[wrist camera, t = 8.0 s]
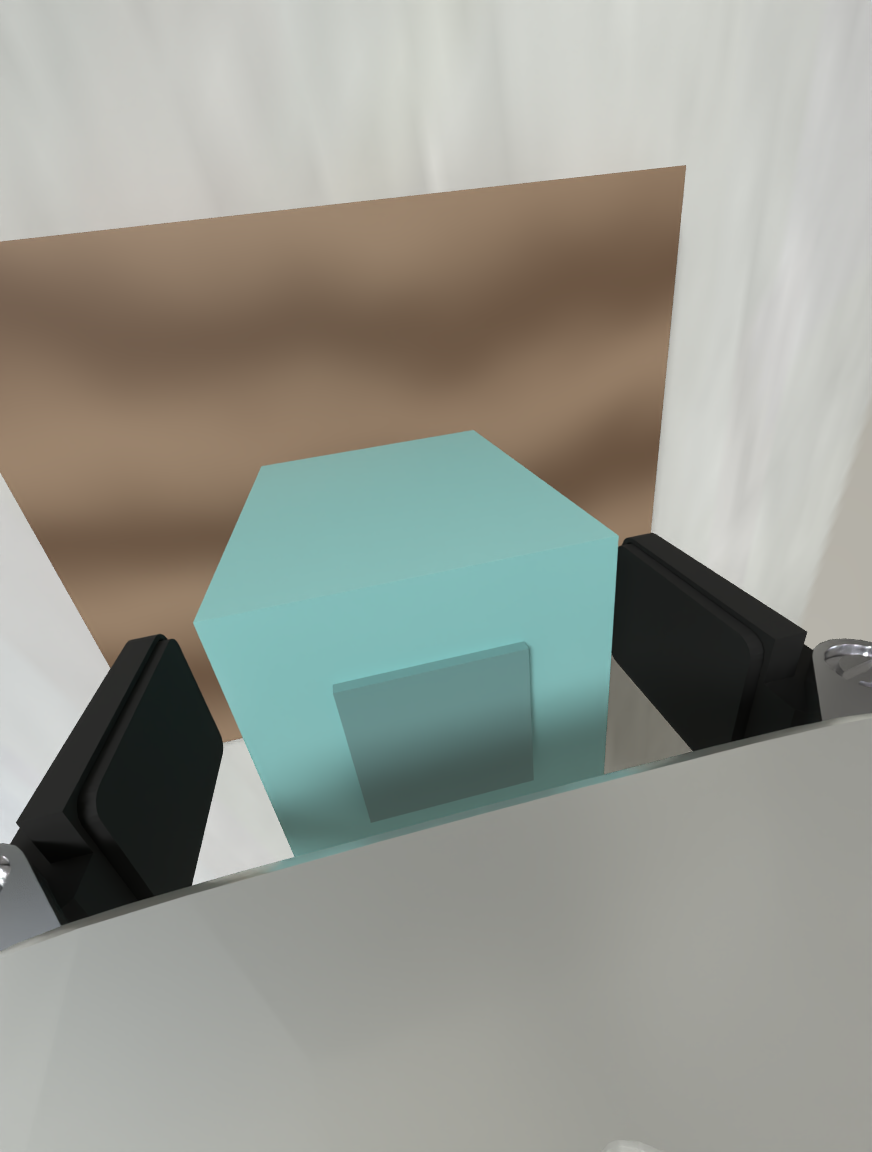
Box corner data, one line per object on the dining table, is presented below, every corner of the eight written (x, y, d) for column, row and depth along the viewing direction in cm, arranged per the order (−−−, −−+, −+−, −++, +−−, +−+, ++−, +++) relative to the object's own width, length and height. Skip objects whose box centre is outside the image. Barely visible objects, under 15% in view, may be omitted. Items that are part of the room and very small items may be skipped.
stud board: (-66, 263, 14) (-925, 136, 4) (648, 181, 17) (1094, -13, 7) (172, 723, 23) (61, 1020, 13) (617, 622, 25) (798, 807, 16)
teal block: (261, 466, 13) (189, 631, 6) (473, 430, 14) (625, 541, 7) (314, 642, 16) (305, 894, 9) (488, 605, 17) (606, 811, 10)
